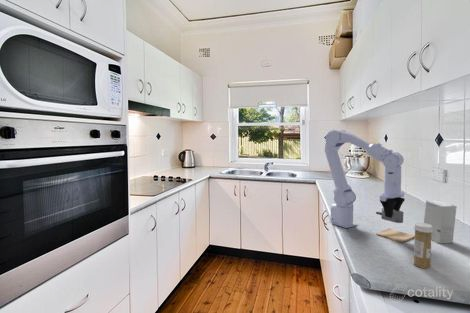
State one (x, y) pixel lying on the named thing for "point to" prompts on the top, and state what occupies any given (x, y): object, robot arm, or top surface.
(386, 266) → the top surface
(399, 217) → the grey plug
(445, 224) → the skincare box
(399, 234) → the cork coaster
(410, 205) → the top surface
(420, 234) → the sprinkles bottle
